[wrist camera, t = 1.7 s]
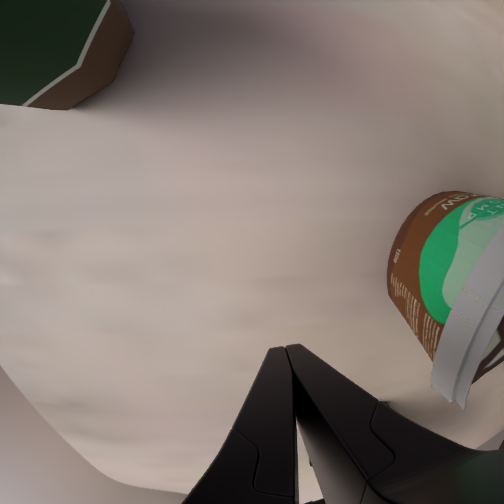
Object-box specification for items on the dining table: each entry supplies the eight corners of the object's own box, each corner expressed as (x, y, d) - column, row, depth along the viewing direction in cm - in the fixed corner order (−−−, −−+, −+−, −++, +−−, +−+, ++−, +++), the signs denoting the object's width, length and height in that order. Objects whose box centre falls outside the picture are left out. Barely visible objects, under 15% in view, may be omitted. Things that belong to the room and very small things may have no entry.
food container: (492, 149, 16) (611, 172, 7) (504, 231, 18) (605, 281, 9) (340, 213, 17) (450, 291, 8) (368, 305, 19) (452, 416, 10)
